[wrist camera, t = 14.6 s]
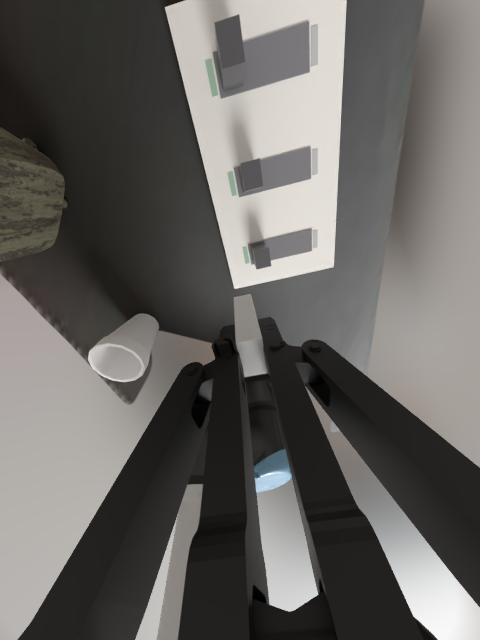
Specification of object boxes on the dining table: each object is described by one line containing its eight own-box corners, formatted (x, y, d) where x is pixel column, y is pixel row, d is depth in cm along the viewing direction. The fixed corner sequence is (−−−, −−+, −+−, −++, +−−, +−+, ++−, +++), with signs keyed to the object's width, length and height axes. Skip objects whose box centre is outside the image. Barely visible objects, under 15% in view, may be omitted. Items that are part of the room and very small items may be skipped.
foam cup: (142, 299, 41) (109, 334, 30) (173, 327, 45) (155, 366, 34) (116, 322, 44) (77, 361, 33) (148, 346, 48) (122, 388, 37)
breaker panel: (327, 263, 39) (334, 267, 36) (234, 284, 40) (234, 289, 38) (337, -31, 21) (350, -60, 19) (171, 26, 23) (164, 5, 20)
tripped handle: (258, 189, 29) (263, 186, 25) (243, 193, 29) (245, 191, 25) (255, 165, 28) (259, 158, 24) (239, 169, 28) (240, 163, 24)
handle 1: (242, 85, 23) (245, 61, 20) (223, 91, 24) (222, 69, 20) (237, 48, 22) (239, 14, 18) (217, 54, 22) (214, 22, 18)
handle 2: (266, 259, 35) (271, 266, 31) (253, 262, 35) (256, 269, 31) (264, 242, 33) (269, 247, 29) (250, 246, 33) (253, 251, 30)
